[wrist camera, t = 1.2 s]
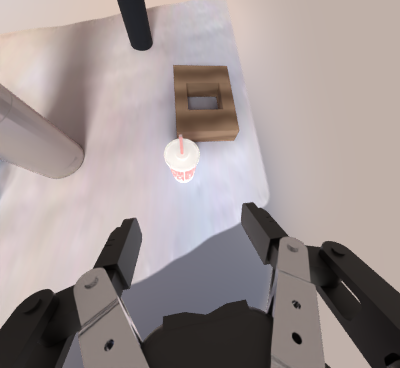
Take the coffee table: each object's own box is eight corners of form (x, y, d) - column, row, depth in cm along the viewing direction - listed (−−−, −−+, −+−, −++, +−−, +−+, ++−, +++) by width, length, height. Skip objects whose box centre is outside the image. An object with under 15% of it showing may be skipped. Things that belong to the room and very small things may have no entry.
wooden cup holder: (234, 140, 37) (239, 130, 33) (177, 142, 36) (176, 132, 32) (223, 80, 43) (226, 66, 39) (174, 80, 42) (173, 65, 38)
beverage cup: (195, 160, 35) (200, 116, 22) (198, 184, 33) (205, 154, 20) (169, 161, 34) (157, 118, 21) (170, 187, 33) (158, 157, 19)
